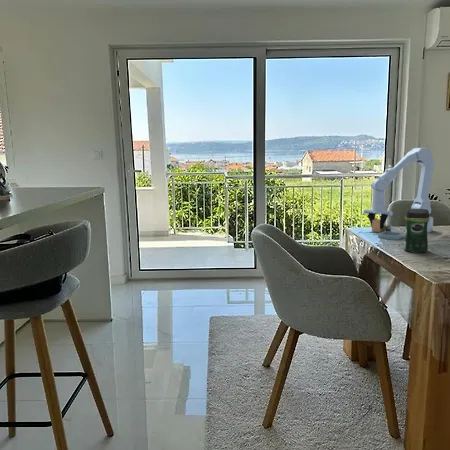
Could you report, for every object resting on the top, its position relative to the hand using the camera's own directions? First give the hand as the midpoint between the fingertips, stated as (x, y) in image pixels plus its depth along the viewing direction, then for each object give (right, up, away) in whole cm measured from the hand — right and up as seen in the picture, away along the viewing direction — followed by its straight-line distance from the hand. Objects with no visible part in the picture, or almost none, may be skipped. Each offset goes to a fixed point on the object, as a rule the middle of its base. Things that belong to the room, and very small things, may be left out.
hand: (377, 228), depth 208 cm
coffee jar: (+3, -10, -35) cm, 36 cm away
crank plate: (+6, -3, 0) cm, 6 cm away
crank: (+3, -1, +2) cm, 4 cm away
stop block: (0, -2, 0) cm, 2 cm away
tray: (+2, -6, -13) cm, 14 cm away
